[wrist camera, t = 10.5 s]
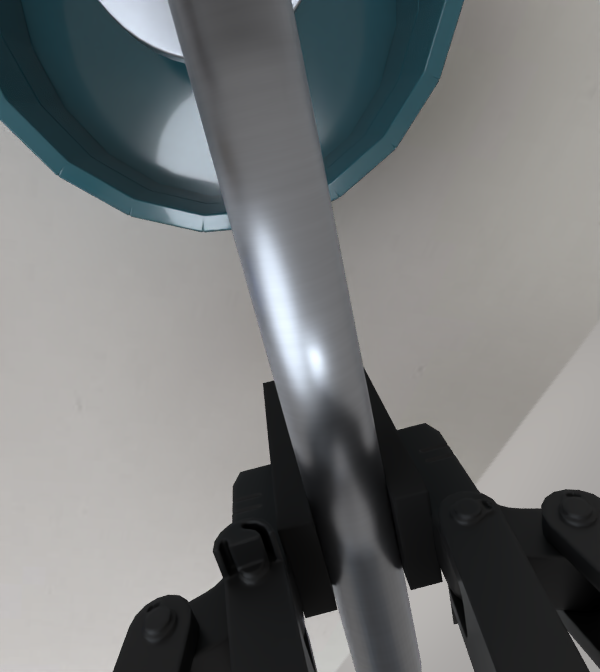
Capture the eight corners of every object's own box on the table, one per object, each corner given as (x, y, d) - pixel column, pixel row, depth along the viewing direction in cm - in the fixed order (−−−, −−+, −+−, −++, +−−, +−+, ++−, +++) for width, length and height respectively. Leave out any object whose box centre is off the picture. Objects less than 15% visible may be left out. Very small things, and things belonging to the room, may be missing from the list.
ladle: (30, -197, 12) (-383, -872, 4) (284, -254, 12) (389, -1007, 4) (264, 514, 21) (285, 752, 13) (408, 475, 21) (517, 686, 13)
